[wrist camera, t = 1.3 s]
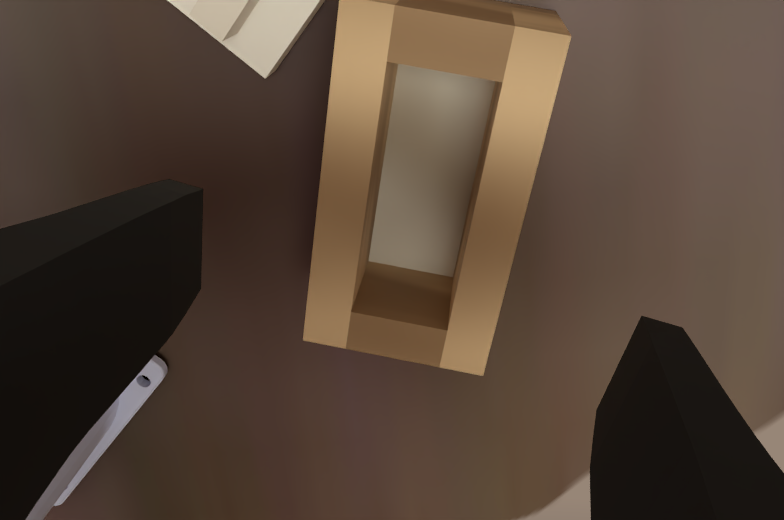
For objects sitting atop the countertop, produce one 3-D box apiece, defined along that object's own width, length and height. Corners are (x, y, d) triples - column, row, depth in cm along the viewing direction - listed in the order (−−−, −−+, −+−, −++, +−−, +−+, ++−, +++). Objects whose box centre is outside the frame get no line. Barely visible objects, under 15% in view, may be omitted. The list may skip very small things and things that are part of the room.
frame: (484, 301, 22) (482, 375, 19) (332, 272, 23) (302, 340, 19) (555, 11, 18) (571, 35, 15) (368, -22, 18) (339, -5, 15)
